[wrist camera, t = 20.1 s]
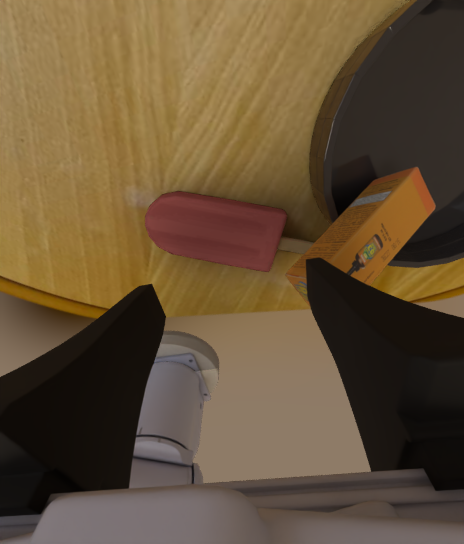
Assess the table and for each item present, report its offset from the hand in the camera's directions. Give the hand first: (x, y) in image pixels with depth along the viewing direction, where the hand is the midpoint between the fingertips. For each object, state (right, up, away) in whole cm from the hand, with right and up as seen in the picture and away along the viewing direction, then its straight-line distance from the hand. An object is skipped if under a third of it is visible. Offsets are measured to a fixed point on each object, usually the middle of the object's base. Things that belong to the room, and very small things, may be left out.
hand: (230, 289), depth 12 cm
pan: (+14, +10, +6) cm, 18 cm away
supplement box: (+12, +6, +5) cm, 14 cm away
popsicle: (+1, +4, +10) cm, 11 cm away
